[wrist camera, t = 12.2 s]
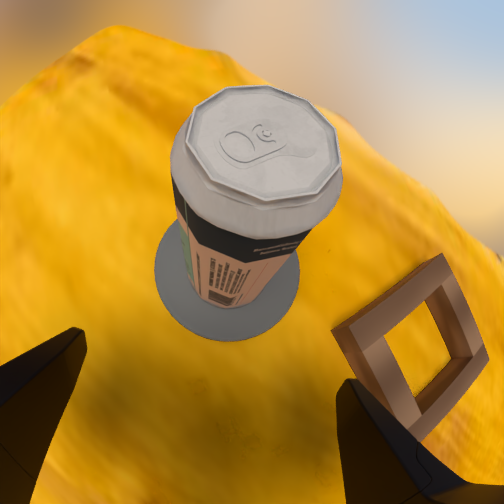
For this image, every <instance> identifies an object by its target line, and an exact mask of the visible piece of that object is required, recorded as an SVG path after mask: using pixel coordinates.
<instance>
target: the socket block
mask: <svg viewBox="0 0 504 504" xmlns="http://www.w3.org/2000/svg"><path fill="white" fill-rule="evenodd" d="M424 300H425V301H426V303H427V305H428V307H429V309H430V311H431V314H432V316H433V318H434V320H435V322H436V324H437V326H438V328H439V330H440V333H441V335H442V337H443V339H444V342H445V344H446V346H447V348H448V351H449V353H450V355H451V358H452V359H451V361H450V362H449V363H448V364H447V365H446V366H445V367H444V368H443V370H442V371H441V372H440V373H439V374H438V375H437V376H436V377H435V378H434V379H433V380H432V381H431V382H430V383H429V384H428V385H427V386H426V388H425V389H424V390H423V391H422V392H421V393H420V394H418V395H417V396H416V397H415V398H414V397H413V395H412V393H411V390H410V388H409V386H408V384H407V382H406V380H405V378H404V376H403V374H402V372H401V369H400V367H399V365H398V363H397V361H396V359H395V357H394V355H393V353H392V351H391V349H390V348H389V346H388V344H387V342H386V340H385V338H384V336H383V335H385V334H386V333H387V332H388V331H390V330H391V329H392V328H393V327H394V326H396V325H397V324H398V323H399V322H400V321H402V320H403V319H404V318H405V317H406V316H407V315H408V314H410V313H411V312H412V311H413V310H414V309H415V308H416V307H418V306H419V305H420V304H421V303H422V302H423V301H424ZM331 332H332V333H333V335H334V337H335V339H336V341H337V342H338V344H339V346H340V348H341V350H342V351H343V353H344V355H345V357H346V359H347V361H348V362H349V364H350V366H351V368H352V370H353V372H354V373H355V375H356V377H357V379H358V380H359V381H360V382H361V383H362V384H363V385H364V386H365V387H366V388H367V389H368V390H369V391H370V392H371V393H372V394H373V395H374V396H375V397H376V398H377V399H378V400H379V401H380V402H381V403H382V404H383V406H384V407H385V408H386V409H387V410H388V411H389V412H390V413H391V414H392V415H393V416H394V417H395V418H396V419H397V420H398V421H399V422H400V423H401V424H402V425H403V426H404V427H405V428H406V429H407V430H408V431H409V432H410V433H411V434H412V435H413V436H414V437H415V438H416V439H417V441H419V442H421V441H422V440H423V439H424V438H425V437H426V436H427V435H428V434H429V433H430V432H431V431H432V430H433V429H434V428H435V427H436V426H437V425H438V423H439V422H440V421H441V420H442V419H443V418H444V417H445V416H446V415H447V414H448V412H449V411H450V410H451V409H452V408H453V407H454V406H455V404H456V403H457V402H458V401H459V400H460V398H461V397H462V396H463V395H464V394H465V392H466V391H467V390H468V389H469V387H470V386H471V385H472V383H473V382H474V381H475V379H476V378H477V377H478V375H479V374H480V373H481V371H482V370H483V368H484V367H485V366H486V364H487V363H488V361H489V357H488V354H487V351H486V348H485V346H484V343H483V340H482V337H481V335H480V332H479V330H478V327H477V325H476V322H475V320H474V318H473V315H472V313H471V311H470V308H469V306H468V304H467V301H466V299H465V297H464V295H463V293H462V291H461V289H460V286H459V284H458V282H457V280H456V278H455V276H454V274H453V272H452V270H451V268H450V266H449V265H448V263H447V261H446V259H445V257H444V255H443V253H441V254H439V255H437V256H435V257H433V258H432V259H430V260H428V261H426V262H424V263H422V264H421V265H420V266H419V267H417V268H416V269H415V270H414V271H412V272H411V273H410V274H409V275H407V276H406V277H405V278H403V279H402V280H401V281H400V282H398V283H397V284H396V285H394V286H393V287H392V288H390V289H389V290H388V291H387V292H385V293H384V294H382V295H381V296H380V297H378V298H377V299H376V300H374V301H373V302H372V303H370V304H369V305H367V306H366V307H365V308H363V309H362V310H360V311H359V312H358V313H356V314H355V315H353V316H352V317H350V318H349V319H347V320H346V321H344V322H343V323H342V324H340V325H339V326H337V327H336V328H334V329H333V330H331Z"/></svg>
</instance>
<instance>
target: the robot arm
mask: <svg viewBox="0 0 504 504" xmlns="http://www.w3.org/2000/svg"><path fill="white" fill-rule="evenodd" d="M86 353H87V343H86V337H85V332H84V330H82V329H79V328H76V327H71V328H69V329H68V330H66V331H64V332H62V333H60V334H58V335H56V336H55V337H53V338H51V339H49V340H47V341H45V342H43V343H42V344H40V345H38V346H36V347H34V348H32V349H31V350H29V351H27V352H25V353H23V354H21V355H20V356H18V357H16V358H14V359H12V360H11V361H9V362H7V363H5V364H3V365H1V366H0V504H30V500H31V497H32V494H33V491H34V488H35V485H36V481H37V478H38V475H39V473H40V470H41V467H42V464H43V462H44V459H45V456H46V454H47V451H48V448H49V446H50V443H51V441H52V438H53V436H54V433H55V431H56V429H57V426H58V424H59V422H60V419H61V417H62V415H63V412H64V410H65V408H66V406H67V403H68V401H69V399H70V397H71V395H72V392H73V390H74V388H75V385H76V382H77V379H78V376H79V373H80V370H81V367H82V364H83V362H84V359H85V356H86ZM336 416H337V436H338V444H339V451H340V458H341V465H342V473H343V481H344V489H345V498H346V504H504V485H486V484H475V483H470V482H467V481H465V480H463V479H462V478H461V477H459V476H458V475H457V474H455V473H454V472H453V471H452V470H450V469H449V468H448V467H447V466H446V465H444V464H443V463H442V462H441V461H439V460H438V459H437V458H436V457H435V456H434V455H433V454H431V453H430V452H429V451H428V450H427V449H426V448H425V447H424V446H423V445H422V444H421V443H420V442H419V441H417V439H416V438H415V437H414V436H413V435H412V434H411V433H410V432H409V431H408V430H407V429H406V428H405V427H404V426H403V425H402V424H401V423H400V422H399V421H398V420H397V419H396V418H395V417H394V416H393V415H392V414H391V413H390V412H389V411H388V410H387V409H386V408H385V407H384V406H383V404H382V403H381V402H380V401H379V400H378V399H377V398H376V397H375V396H374V395H373V394H372V393H371V392H370V391H369V390H368V389H367V388H366V387H365V386H364V385H363V384H362V383H361V382H360V381H359V380H358V379H350V378H348V379H346V380H345V381H344V383H343V384H342V386H341V387H340V389H339V391H338V392H337V394H336Z"/></svg>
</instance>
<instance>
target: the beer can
mask: <svg viewBox="0 0 504 504" xmlns="http://www.w3.org/2000/svg"><path fill="white" fill-rule="evenodd" d="M170 161H171V177H172V184H173V191H174V198H175V205H176V211H177V217H178V224H179V230H180V235H181V241H182V247H183V252H184V258H185V263H186V268H187V274H188V278H189V281H190V283H191V285H192V287H193V289H194V290H195V292H196V293H197V294H198V296H199V297H200V298H201V299H203V300H204V301H206V302H207V303H209V304H211V305H214V306H216V307H219V308H225V309H229V308H238V307H241V306H245V305H247V304H249V303H251V302H252V301H253V300H255V299H256V298H257V297H258V296H259V294H260V293H261V292H262V290H263V289H264V287H265V285H266V284H267V283H268V282H269V280H270V279H271V278H272V277H273V276H274V274H275V273H276V272H277V271H278V270H279V268H280V267H281V266H282V265H283V264H284V262H285V261H286V260H287V259H288V258H289V256H290V255H291V254H292V253H293V252H294V250H295V249H296V248H297V247H298V245H299V244H300V243H301V242H302V241H303V239H304V238H305V237H306V236H307V235H308V233H309V232H310V231H311V230H312V228H314V227H315V226H316V225H317V224H318V223H320V222H321V221H322V220H323V219H324V218H326V217H327V216H328V214H329V213H330V212H331V210H332V209H333V208H334V206H335V205H336V203H337V201H338V198H339V196H340V192H341V188H342V182H343V175H342V169H341V165H342V162H341V155H340V149H339V143H338V137H337V131H336V128H335V127H334V126H333V125H332V124H331V123H330V122H329V121H328V120H327V119H326V118H325V116H324V115H323V114H322V113H321V112H320V111H319V110H318V109H317V108H316V107H315V106H314V105H313V104H312V103H311V102H310V101H308V100H307V99H304V98H302V97H299V96H297V95H294V94H292V93H289V92H287V91H284V90H281V89H278V88H276V87H273V86H270V85H249V86H232V87H225V88H224V89H222V90H220V91H219V92H217V93H215V94H214V95H212V96H211V97H209V98H207V99H206V100H204V101H203V102H201V103H200V104H198V105H197V106H195V107H194V109H193V113H192V114H191V115H190V116H189V117H188V119H187V120H186V121H185V122H184V124H183V125H182V127H181V128H180V130H179V132H178V133H177V135H176V137H175V140H174V143H173V147H172V150H171V155H170Z"/></svg>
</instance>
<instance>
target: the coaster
mask: <svg viewBox="0 0 504 504" xmlns="http://www.w3.org/2000/svg"><path fill="white" fill-rule="evenodd" d="M154 271H155V281H156V285H157V290H158V292H159V295H160V297H161V300H162V301H163V303H164V305H165V307H166V308H167V310H168V311H169V312H170V314H171V315H172V316H173V317H174V318H175V319H176V320H177V321H178V322H179V323H180V324H181V325H183V326H184V327H185V328H186V329H188V330H190V331H191V332H193V333H195V334H197V335H200V336H202V337H205V338H208V339H212V340H217V341H239V340H245V339H248V338H252V337H255V336H257V335H259V334H261V333H263V332H265V331H267V330H268V329H270V328H271V327H273V326H274V325H275V324H276V323H277V322H279V321H280V320H281V319H282V317H283V316H284V315H285V314H286V313H287V311H288V310H289V308H290V307H291V305H292V303H293V301H294V298H295V296H296V293H297V290H298V285H299V275H300V269H299V260H298V256H297V252H296V250H294V252H293V253H292V254H291V255H290V256H289V258H288V259H287V260H286V261H285V262H284V264H283V265H282V266H281V267H280V268H279V270H278V271H277V272H276V273H275V274H274V276H273V277H272V278H271V279H270V280H269V282H268V283H267V284H266V285H265V287H264V289H263V290H262V292H261V293H260V294H259V296H258V297H257V298H256V299H255V300H253V301H252V302H251V303H249V304H247V305H245V306H241V307H238V308H229V309H225V308H219V307H216V306H214V305H211V304H209V303H207V302H206V301H204V300H203V299H201V298H200V297H199V296H198V294H197V293H196V292H195V290H194V289H193V287H192V285H191V283H190V281H189V278H188V274H187V268H186V263H185V258H184V252H183V247H182V241H181V235H180V230H179V224H178V219H177V220H176V221H174V223H173V224H172V225H171V226H170V227H169V228H168V230H167V231H166V233H165V234H164V236H163V238H162V240H161V242H160V244H159V247H158V250H157V253H156V258H155V269H154Z"/></svg>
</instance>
